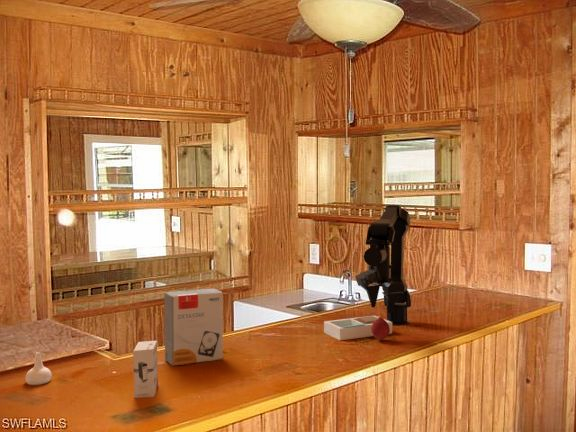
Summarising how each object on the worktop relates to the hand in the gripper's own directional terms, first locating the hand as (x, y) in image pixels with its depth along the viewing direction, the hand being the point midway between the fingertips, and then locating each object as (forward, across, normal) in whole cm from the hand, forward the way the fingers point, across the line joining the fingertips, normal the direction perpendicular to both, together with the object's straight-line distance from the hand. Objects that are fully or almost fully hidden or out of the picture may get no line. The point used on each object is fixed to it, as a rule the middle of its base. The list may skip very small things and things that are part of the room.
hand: (381, 310), depth 196 cm
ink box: (+10, +15, -78) cm, 80 cm away
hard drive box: (+10, -6, -60) cm, 61 cm away
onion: (+10, +1, -1) cm, 10 cm away
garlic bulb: (+10, -5, -102) cm, 103 cm away
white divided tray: (+10, -11, -2) cm, 15 cm away
